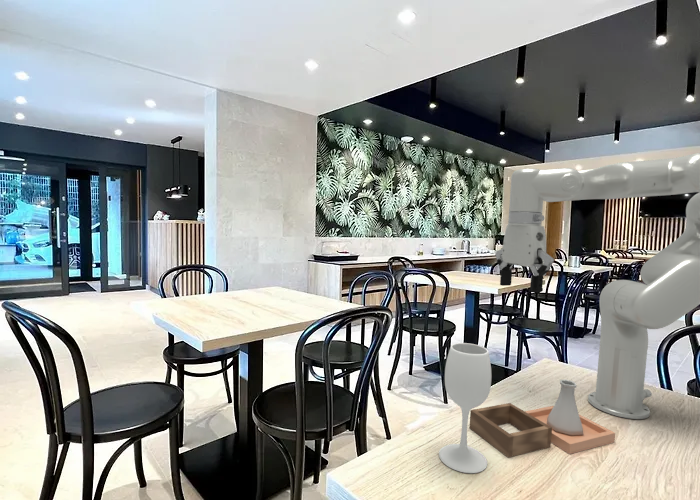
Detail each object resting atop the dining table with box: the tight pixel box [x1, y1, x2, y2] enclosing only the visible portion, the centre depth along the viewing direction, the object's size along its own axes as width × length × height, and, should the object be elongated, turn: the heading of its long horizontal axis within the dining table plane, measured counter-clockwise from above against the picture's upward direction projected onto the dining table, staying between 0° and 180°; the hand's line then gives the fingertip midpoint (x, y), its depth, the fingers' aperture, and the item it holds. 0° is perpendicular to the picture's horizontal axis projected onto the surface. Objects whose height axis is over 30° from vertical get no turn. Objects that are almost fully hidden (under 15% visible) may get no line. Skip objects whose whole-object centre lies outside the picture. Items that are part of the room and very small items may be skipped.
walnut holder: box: [469, 402, 552, 459], centre depth 79 cm, size 11×11×4 cm
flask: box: [547, 379, 584, 435], centre depth 82 cm, size 7×7×10 cm
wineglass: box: [438, 342, 492, 474], centre depth 71 cm, size 9×9×21 cm
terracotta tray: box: [524, 405, 616, 455], centre depth 83 cm, size 13×13×2 cm
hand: (520, 288), depth 96 cm, fingers open, 9 cm apart
